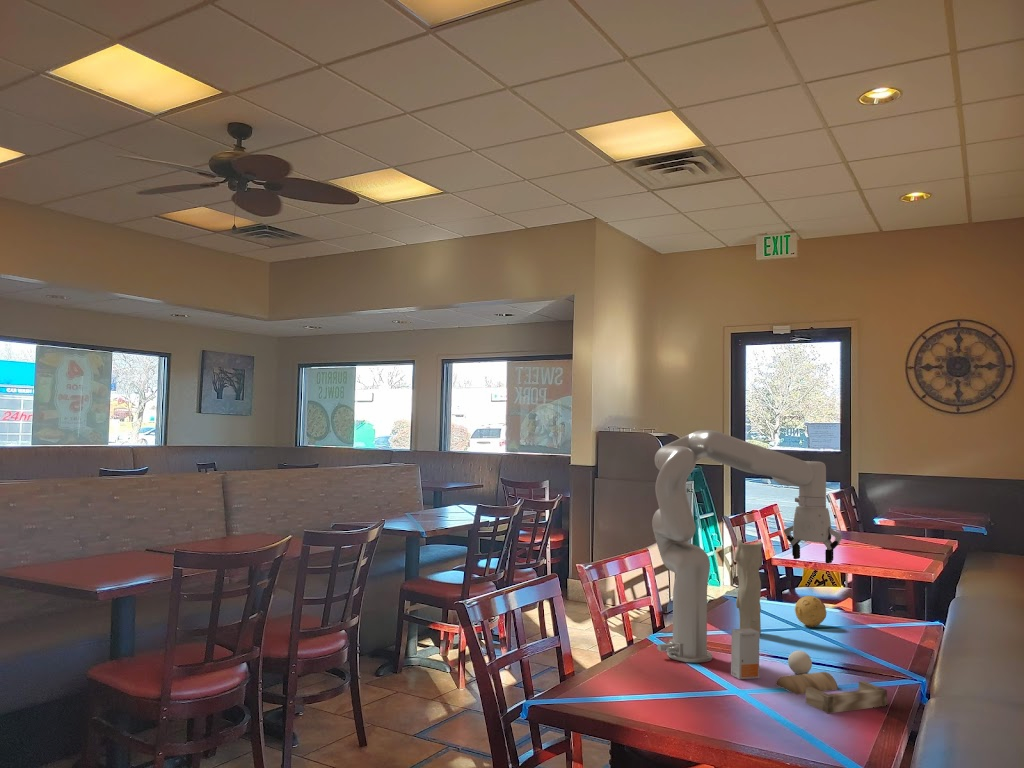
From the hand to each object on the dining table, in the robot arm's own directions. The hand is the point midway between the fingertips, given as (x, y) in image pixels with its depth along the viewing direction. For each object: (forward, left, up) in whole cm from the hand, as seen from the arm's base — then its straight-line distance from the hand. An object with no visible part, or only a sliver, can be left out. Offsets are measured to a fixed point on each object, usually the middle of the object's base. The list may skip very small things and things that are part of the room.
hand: (812, 560), depth 231 cm
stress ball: (+23, +27, -27) cm, 44 cm away
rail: (-24, -39, -27) cm, 53 cm away
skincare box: (-34, -14, -27) cm, 46 cm away
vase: (-4, +24, -27) cm, 36 cm away
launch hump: (-24, -26, -32) cm, 47 cm away
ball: (-18, -16, -24) cm, 34 cm away
